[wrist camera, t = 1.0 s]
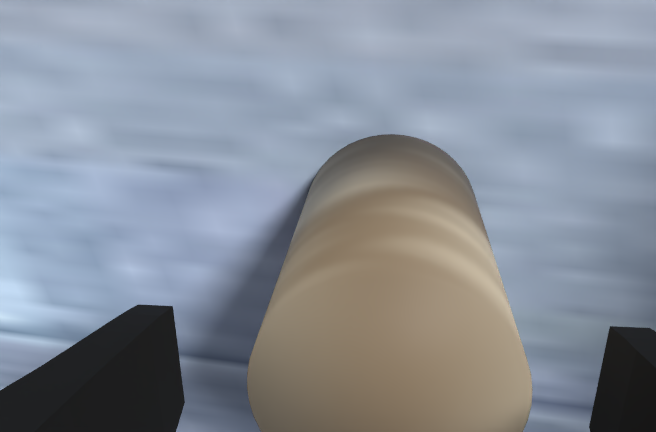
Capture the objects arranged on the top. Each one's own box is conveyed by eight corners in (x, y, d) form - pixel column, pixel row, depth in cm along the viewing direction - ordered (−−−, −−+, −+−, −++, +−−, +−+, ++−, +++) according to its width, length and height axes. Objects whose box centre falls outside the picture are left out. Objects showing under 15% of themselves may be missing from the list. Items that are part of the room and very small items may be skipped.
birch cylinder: (484, 136, 15) (551, 278, 8) (468, 294, 17) (514, 509, 10) (303, 132, 15) (238, 265, 9) (307, 286, 17) (255, 490, 11)
